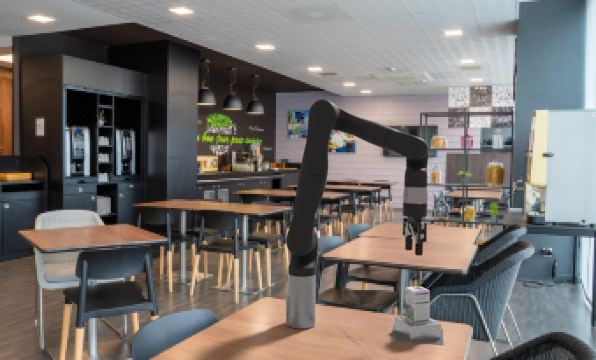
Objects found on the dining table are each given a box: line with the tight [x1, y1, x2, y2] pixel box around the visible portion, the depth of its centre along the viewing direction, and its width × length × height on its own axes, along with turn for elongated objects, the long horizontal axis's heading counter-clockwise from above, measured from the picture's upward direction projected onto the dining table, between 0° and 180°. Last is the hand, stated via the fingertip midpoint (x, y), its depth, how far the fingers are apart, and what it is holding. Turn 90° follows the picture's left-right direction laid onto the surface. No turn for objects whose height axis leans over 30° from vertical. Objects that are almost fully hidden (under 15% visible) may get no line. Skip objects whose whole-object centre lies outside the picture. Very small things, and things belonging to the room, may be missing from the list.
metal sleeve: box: [394, 315, 442, 341], centre depth 164 cm, size 10×10×4 cm
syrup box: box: [404, 285, 431, 325], centre depth 164 cm, size 6×6×14 cm
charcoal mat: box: [389, 324, 445, 346], centre depth 165 cm, size 16×16×1 cm
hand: (413, 252), depth 166 cm, fingers open, 8 cm apart
